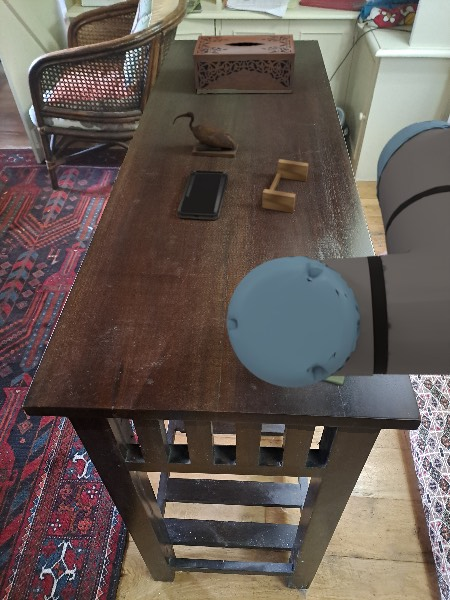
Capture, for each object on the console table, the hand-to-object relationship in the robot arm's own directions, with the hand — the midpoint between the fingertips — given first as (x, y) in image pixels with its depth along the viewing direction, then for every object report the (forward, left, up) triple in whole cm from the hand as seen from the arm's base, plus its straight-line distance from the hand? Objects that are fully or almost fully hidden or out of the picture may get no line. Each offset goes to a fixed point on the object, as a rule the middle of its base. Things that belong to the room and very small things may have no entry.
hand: (321, 307), depth 62 cm
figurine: (+34, -44, -6) cm, 56 cm away
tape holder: (+13, -33, -5) cm, 36 cm away
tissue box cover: (+37, -82, -6) cm, 90 cm away
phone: (+28, -27, -5) cm, 39 cm away
